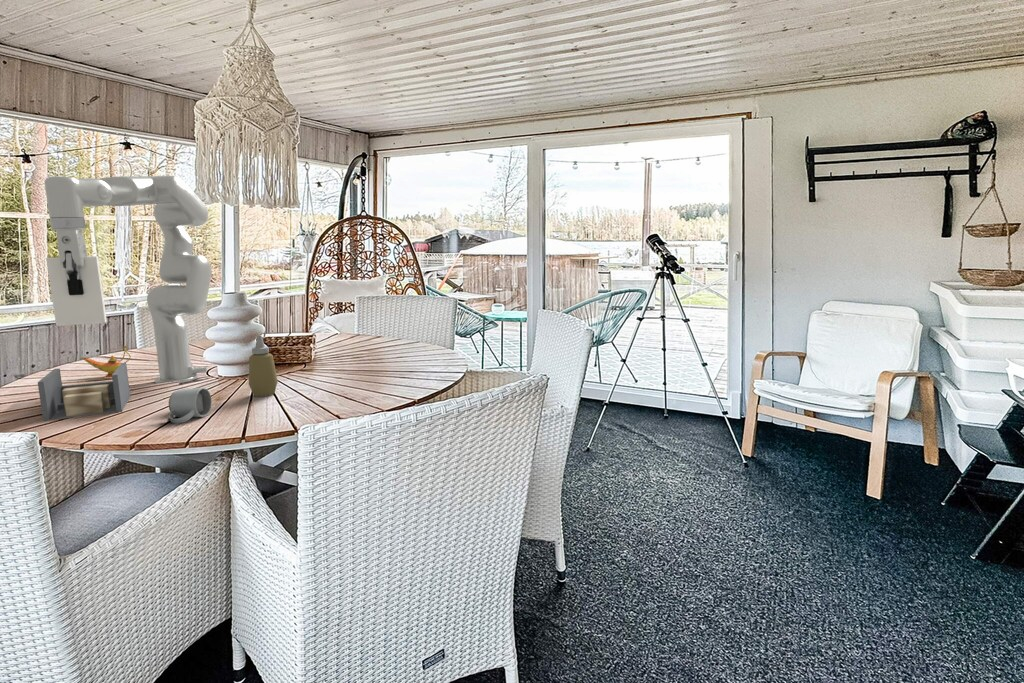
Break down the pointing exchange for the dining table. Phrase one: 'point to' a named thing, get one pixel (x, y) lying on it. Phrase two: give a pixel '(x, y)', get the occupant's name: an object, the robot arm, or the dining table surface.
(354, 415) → the dining table surface
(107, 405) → the oak offcut tall
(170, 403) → the ceramic mug
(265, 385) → the squeeze bottle
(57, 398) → the rack
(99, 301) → the white panel
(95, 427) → the dining table surface
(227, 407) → the dining table surface
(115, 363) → the magic lamp
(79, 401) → the oak offcut short
